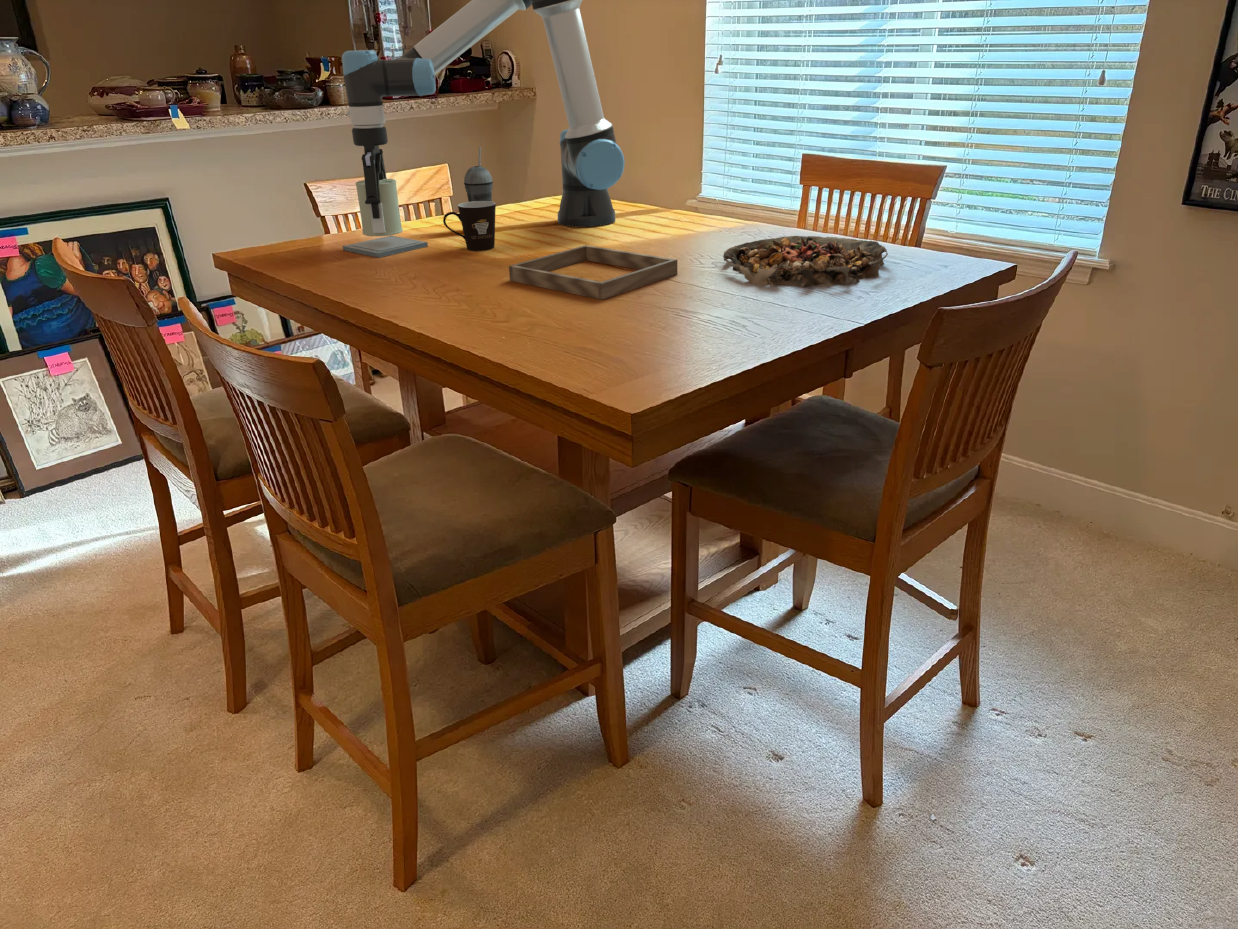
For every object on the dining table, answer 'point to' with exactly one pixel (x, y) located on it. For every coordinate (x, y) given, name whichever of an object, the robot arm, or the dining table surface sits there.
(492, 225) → the coffee mug
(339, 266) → the dining table surface
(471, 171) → the beverage cup
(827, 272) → the food dish
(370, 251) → the slate coaster
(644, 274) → the walnut frame
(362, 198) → the can
